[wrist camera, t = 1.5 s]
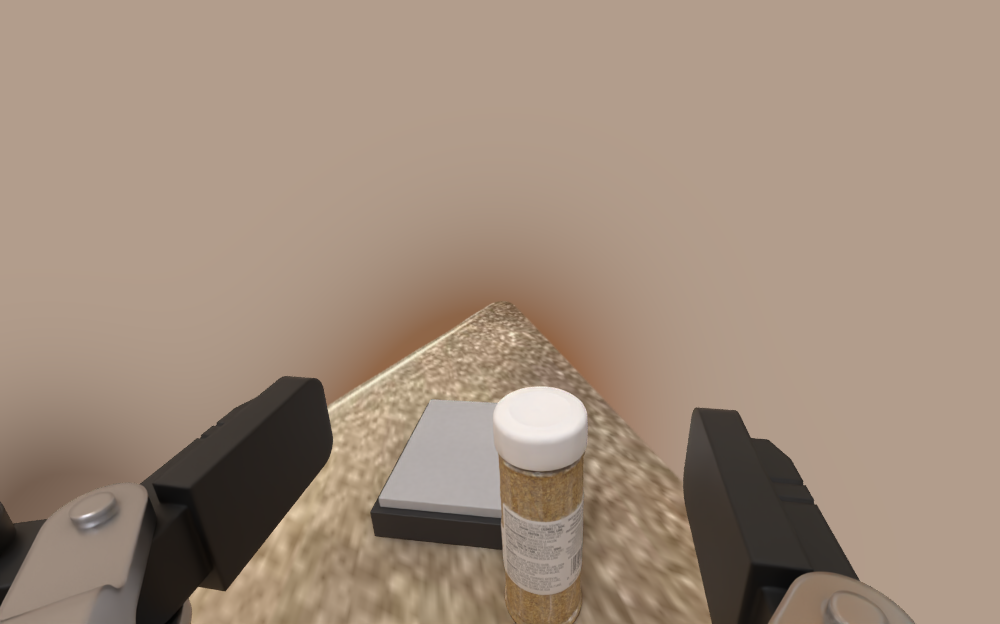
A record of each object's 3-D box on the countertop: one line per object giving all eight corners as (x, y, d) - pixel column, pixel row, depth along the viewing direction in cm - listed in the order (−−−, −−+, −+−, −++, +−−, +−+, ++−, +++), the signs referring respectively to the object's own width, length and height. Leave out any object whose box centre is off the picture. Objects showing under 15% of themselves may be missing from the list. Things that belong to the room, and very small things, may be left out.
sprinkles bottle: (531, 554, 31) (525, 374, 26) (595, 591, 28) (604, 399, 23) (488, 611, 28) (472, 416, 22) (557, 658, 25) (557, 451, 20)
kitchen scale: (570, 429, 43) (571, 400, 42) (564, 556, 31) (565, 521, 29) (431, 420, 45) (428, 393, 44) (374, 536, 33) (367, 503, 32)
